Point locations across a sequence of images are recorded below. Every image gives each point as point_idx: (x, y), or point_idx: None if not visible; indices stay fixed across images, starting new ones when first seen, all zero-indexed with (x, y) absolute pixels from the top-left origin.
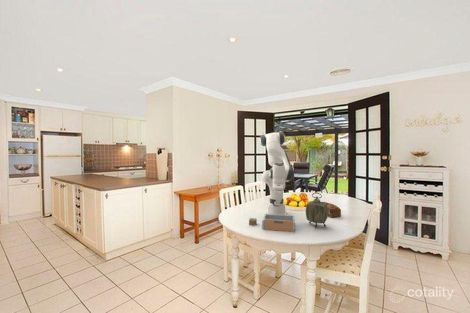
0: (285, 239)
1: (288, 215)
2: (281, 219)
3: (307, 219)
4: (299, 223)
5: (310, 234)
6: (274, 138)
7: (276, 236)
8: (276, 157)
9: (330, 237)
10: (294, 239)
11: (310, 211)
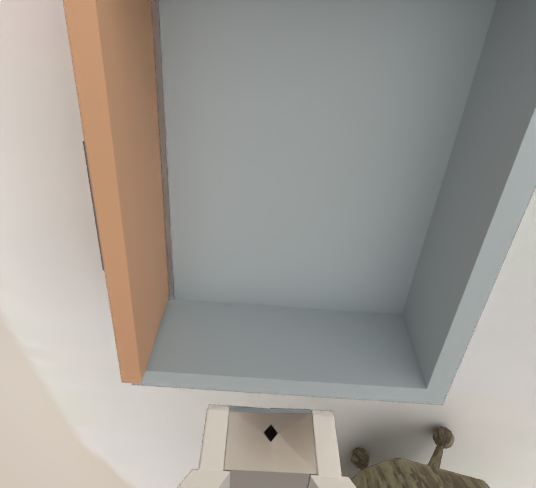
0: None
1: (457, 351)
2: (450, 231)
3: (377, 469)
4: (466, 363)
5: (178, 396)
6: None
7: (3, 116)
8: None
9: (157, 478)
10: (8, 280)
11: None
